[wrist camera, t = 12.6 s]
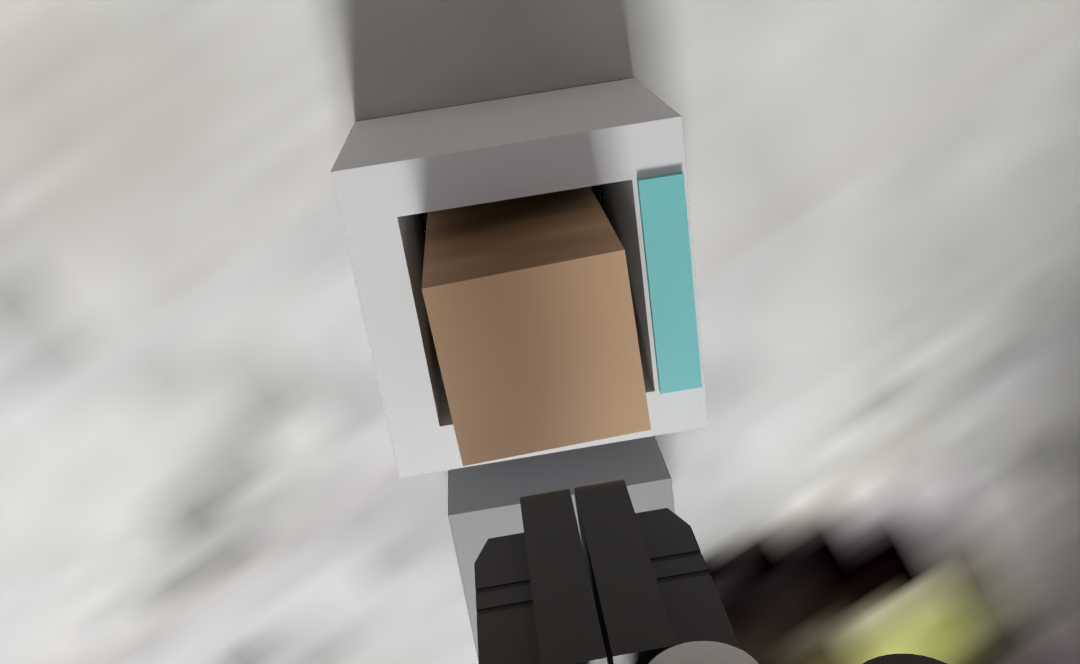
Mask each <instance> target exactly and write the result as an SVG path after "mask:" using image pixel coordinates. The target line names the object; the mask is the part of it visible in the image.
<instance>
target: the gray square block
mask: <svg viewBox="0 0 1080 664" xmlns="http://www.w3.org/2000/svg"><path fill="white" fill-rule="evenodd" d="M622 479H624V481H625V483H626V486H627V489H628V493H629V496H630V499H631V502H632V505H633V508H634V511H635V513H640V512H646V511H651V510H657V509H663V508H668V509H669V510H671V511H672V512H673V513H675V510H674V500H673V491H672V481H671V477H670V474H669V472H668V469H667V467H666V464H665V462H664V459H663V457H662V454H661V452H660V449H659V447H658V444H657V442H656V439H655V437H654V436H651V437H644V438H638V439H632V440H626V441H620V442H614V443H608V444H602V445H596V446H590V447H584V448H578V449H572V450H566V451H560V452H554V453H548V454H542V455H536V456H530V457H524V458H518V459H512V460H506V461H500V462H494V463H488V464H482V465H476V466H470V467H464V468H458V469H452V470H448V517H449V522H450V527H451V532H452V536H453V541H454V546H455V551H456V556H457V561H458V565H459V570H460V575H461V580H462V585H463V589H464V594H465V599H466V604H467V609H468V614H469V618H470V623H471V628H472V633H473V638H474V642H475V647H476V652H477V657H478V637H477V611H476V589H475V569H474V563H475V561H476V559H477V558H478V556H479V554H480V552H481V551H482V549H483V547H484V545H485V543H486V542H487V540H488V539H489V538H495V537H501V536H507V535H513V534H518V533H524V528H523V520H522V512H521V505H520V497H524V496H530V495H535V494H541V493H547V492H553V491H559V490H565V489H570V493H571V497H572V502H573V506H574V511H575V515H576V520H577V524H578V529H579V523H578V516H577V510H576V503H575V496H574V488H575V487H581V486H587V485H593V484H599V483H605V482H611V481H616V480H622ZM579 534H580V530H579ZM580 538H581V536H580ZM478 662H479V659H478Z"/></svg>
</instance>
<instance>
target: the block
mask: <svg viewBox="0 0 1080 664" xmlns="http://www.w3.org/2000/svg"><path fill="white" fill-rule="evenodd" d="M422 293H423V297H424V301H425V306H426V310H427V314H428V318H429V323H430V327H431V331H432V336H433V340H434V344H435V348H436V353H437V357H438V361H439V366H440V370H441V374H442V378H443V383H444V387H445V391H446V396H447V400H448V404H449V408H450V413H451V417H452V421H453V426H454V430H455V434H456V438H457V443H458V447H459V451H460V456H461V460H462V464H463V466H467V465H472V464H477V463H483V462H488V461H493V460H498V459H503V458H508V457H513V456H518V455H524V454H529V453H534V452H539V451H544V450H549V449H554V448H560V447H565V446H570V445H575V444H580V443H585V442H590V441H595V440H601V439H606V438H611V437H616V436H621V435H626V434H631V433H637V432H642V431H647V430H651V425H650V419H649V412H648V405H647V398H646V391H645V384H644V378H643V371H642V364H641V357H640V350H639V343H638V337H637V330H636V323H635V316H634V309H633V302H632V296H631V289H630V282H629V275H628V268H627V261H626V255H625V249H624V247H623V246H622V244H621V242H620V240H619V238H618V237H617V235H616V233H615V231H614V229H613V227H612V226H611V224H610V222H609V220H608V218H607V216H606V215H605V213H604V211H603V209H602V207H601V206H600V204H599V202H598V200H597V198H596V196H595V195H594V193H593V191H592V189H591V187H590V186H589V187H583V188H576V189H570V190H564V191H557V192H551V193H545V194H539V195H532V196H526V197H520V198H514V199H507V200H501V201H495V202H489V203H482V204H476V205H470V206H464V207H457V208H451V209H445V210H439V211H432V212H427V224H426V237H425V250H424V263H423V277H422Z"/></svg>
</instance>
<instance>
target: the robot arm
mask: <svg viewBox="0 0 1080 664" xmlns="http://www.w3.org/2000/svg"><path fill="white" fill-rule="evenodd" d="M574 496H575V503H576V510H577V516H578V523H579V529H578V524H577V520H576V515H575V511H574V506H573V502H572V497H571V493H570V489H565V490H559V491H553V492H547V493H541V494H535V495H530V496H524V497H520V505H521V512H522V520H523V528H524V533H518V534H513V535H507V536H501V537H495V538H489V539H488V540H487V542H486V543H485V545H484V547H483V549H482V551H481V552H480V554H479V556H478V558H477V559H476V561H475V563H474V569H475V589H476V611H477V637H478V659H479V664H758V663H757V662H756V661H755V660H754V659H753V658H752V657H751V656H750V655H748V654H747V653H745V652H744V651H742V650H741V648H740V646H739V644H738V642H737V639H736V637H735V634H734V632H733V629H732V627H731V624H730V622H729V619H728V617H727V615H726V612H725V610H724V607H723V605H722V602H721V600H720V597H719V595H718V592H717V590H716V588H715V585H714V583H713V580H712V578H711V575H710V574H709V572H708V568H707V566H706V563H705V561H704V558H703V556H702V555H701V552H700V548H699V546H698V543H697V541H696V539H695V536H694V534H693V531H692V529H691V526H690V525H688V524H687V523H686V522H685V521H683V520H682V519H681V518H680V517H678V516H677V515H676V514H675V513H673V512H672V511H671V510H669V509H668V508H663V509H657V510H651V511H646V512H640V513H635V511H634V508H633V505H632V502H631V499H630V496H629V493H628V489H627V486H626V483H625V481H624V479H622V480H616V481H611V482H605V483H599V484H593V485H587V486H581V487H575V488H574ZM579 530H580V534H579ZM580 536H581V538H580ZM863 664H946V663H944V662H941V661H939V660H936V659H933V658H929V657H926V656H921V655H914V654H890V655H885V656H880V657H876V658H874V659H871V660H868V661H867V662H865V663H863Z"/></svg>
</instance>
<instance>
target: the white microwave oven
mask: <svg viewBox="0 0 1080 664" xmlns="http://www.w3.org/2000/svg"><path fill="white" fill-rule="evenodd" d="M330 173H331V177H332V182H333V186H334V190H335V195H336V199H337V204H338V208H339V213H340V217H341V221H342V226H343V230H344V235H345V239H346V244H347V248H348V252H349V257H350V261H351V266H352V270H353V275H354V279H355V283H356V288H357V292H358V297H359V301H360V306H361V310H362V314H363V319H364V323H365V328H366V332H367V337H368V341H369V345H370V350H371V354H372V359H373V363H374V368H375V372H376V376H377V381H378V385H379V390H380V394H381V399H382V403H383V407H384V412H385V416H386V421H387V425H388V430H389V434H390V438H391V443H392V447H393V452H394V456H395V461H396V465H397V469H398V474H399V478H404V477H410V476H416V475H422V474H428V473H434V472H440V471H446V470H452V469H458V468H464V467H470V466H476V465H482V464H488V463H494V462H500V461H506V460H512V459H518V458H524V457H530V456H536V455H542V454H548V453H554V452H560V451H566V450H572V449H578V448H584V447H590V446H596V445H602V444H608V443H614V442H620V441H626V440H632V439H638V438H644V437H651V436H657V435H663V434H669V433H675V432H681V431H687V430H693V429H699V428H705V427H708V420H707V409H706V397H705V385H704V374H703V362H702V351H701V339H700V327H699V316H698V304H697V292H696V281H695V269H694V257H693V246H692V234H691V222H690V211H689V199H688V187H687V176H686V164H685V152H684V141H683V129H682V117H681V116H680V115H679V114H678V113H677V112H675V111H674V110H673V109H672V108H670V107H669V106H668V105H667V104H665V103H664V102H663V101H662V100H660V99H659V98H658V97H657V96H655V95H654V94H653V93H652V92H651V91H649V90H648V89H647V88H646V87H644V86H643V85H642V84H641V83H639V82H638V81H637V80H636V79H634V78H630V79H624V80H618V81H611V82H605V83H599V84H592V85H586V86H580V87H573V88H567V89H560V90H554V91H548V92H541V93H535V94H529V95H522V96H516V97H510V98H503V99H497V100H490V101H484V102H478V103H471V104H465V105H459V106H452V107H446V108H440V109H433V110H427V111H421V112H414V113H408V114H401V115H395V116H389V117H382V118H376V119H370V120H363V121H357V122H355V123H354V125H353V127H352V129H351V131H350V133H349V135H348V137H347V139H346V141H345V143H344V145H343V147H342V149H341V152H340V154H339V156H338V158H337V160H336V162H335V164H334V166H333V168H332V170H331V172H330ZM601 184H602V189H603V197H604V206H605V214H606V216H607V218H608V220H609V222H610V224H611V226H612V227H613V229H614V231H615V233H616V235H617V237H618V238H619V240H620V242H621V244H622V246H623V247H624V249H625V255H626V261H627V268H628V275H629V282H630V289H631V296H632V302H633V309H634V316H635V323H636V330H637V337H638V343H639V350H640V357H641V364H642V371H643V378H644V384H645V391H646V398H647V405H648V412H649V419H650V425H651V430H647V431H642V432H637V433H631V434H626V435H621V436H616V437H611V438H606V439H601V440H595V441H590V442H585V443H580V444H575V445H570V446H565V447H560V448H554V449H549V450H544V451H539V452H534V453H529V454H524V455H518V456H513V457H508V458H503V459H498V460H493V461H488V462H483V463H477V464H472V465H467V466H463V464H462V460H461V456H460V451H459V447H458V443H457V438H456V434H455V430H454V426H453V421H452V417H451V413H450V408H449V404H448V400H447V396H446V391H445V387H444V383H443V378H442V374H441V370H440V366H439V361H438V357H437V353H436V348H435V344H434V340H433V336H432V331H431V327H430V323H429V318H428V314H427V310H426V306H425V301H424V297H423V293H422V277H423V263H424V250H425V244H424V239H423V234H422V228H421V223H420V218H419V214H420V213H426V212H432V211H439V210H445V209H451V208H457V207H464V206H470V205H476V204H482V203H489V202H495V201H501V200H507V199H514V198H520V197H526V196H532V195H539V194H545V193H551V192H557V191H564V190H570V189H576V188H583V187H589V186H595V185H601Z"/></svg>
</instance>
